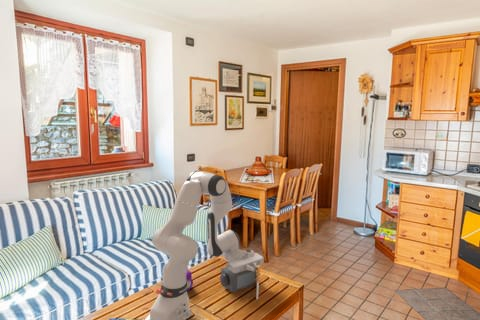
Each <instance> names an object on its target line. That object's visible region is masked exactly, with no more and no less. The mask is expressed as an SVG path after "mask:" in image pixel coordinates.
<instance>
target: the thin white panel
mask: <svg viewBox="0 0 480 320" xmlns="http://www.w3.org/2000/svg"><path fill="white" fill-rule="evenodd" d="M260 268H261V265H258V269H257V270H256V284H255V285H256V297H255V298H256V300H259V291H260V290H259V289H260V273H261V272H260V271H261V270H260Z"/></svg>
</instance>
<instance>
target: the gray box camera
mask: <svg viewBox="0 0 480 320" xmlns="http://www.w3.org/2000/svg"><path fill="white" fill-rule="evenodd" d="M220 271H221V272H220V276H219V278H220V279H219V280H220V281H219V282H220V284H221V285H222V287H224V288H225V289H227V290H228V291H229V292H230V293H235V292H238V291H241V290H244V289H247V288H249V287H252V286H255V285H257V284H256V276H257V270H255V271H253V272H252V271H251V270H244V271H241V272H238V273H233V272H232V271H231V270H230V269H229V268H228V267H227V266H224V267H221V269H220Z"/></svg>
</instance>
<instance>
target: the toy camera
mask: <svg viewBox="0 0 480 320" xmlns="http://www.w3.org/2000/svg"><path fill="white" fill-rule="evenodd" d="M192 274H193V273H192V272H191V271H190V270H189V269H187V273H186V280H187V292H188V291H189V290H190V289H192V288H193V286H194V281H193V276H192Z"/></svg>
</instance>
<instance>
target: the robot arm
mask: <svg viewBox="0 0 480 320" xmlns="http://www.w3.org/2000/svg"><path fill="white" fill-rule="evenodd" d="M202 195H207V196H210V208H209V211H208V213H207V215H206V219H207V220H206V223H207V224H206V229H207V230H206V231H207V233H206V234H207V236H206V237H207V241H206V250H207V253H208V254H209V255H210V256H212V257H216V258H218V257H219V258H220V257H222V258H223V259H225V260H226V261H227V262H225V267H228V268H229V269H230V270H231V271H232V272H233V273H238V272H241V271H244V270H251V271H252V272H253V271H255V270H256V271H257V269H258V265H260V266H261V265H263V264H264V259H265V258H264V256H262V255H261V254H260V253H258V252H254V250H252V249H246V250H245V249H240V243H241V242H240V241H241V240H240V236H239V234H238V233H237V232H235V231H234V230H232V229H227V230H226V231H224V232H222V233H221V234H218V226H219V223H220V222H221V221H222V220H223V219H224V217H226V215H228V214H229V213H230V211H231V210H232V207H233V198H232V194H231V189H230V187H229V184H228V182H227V180H226V179H225V178H224V177H223V176H222V175H220V174H215V173H212V172H210V171H203V170H202V171H201V170H193V171H191V172H190V173H189V174H188V176H187V178H186V181H185V182H184V183H182V186H181V188H180V189H179V191H178V193H177V196H176V199H175V202H174V205H173V208H172V211H171V214H170V215H169V218H168V219H167V221H166V222H165V224H164V225H163V226H161V227H160V228H157V229H156V230H155V231H154V233H153V235H152V238H151V243H152V245H153V246H154V248H155V249H157V251H159V252H162V253H163V254H165V255H168V257H169V262H166V263H165V264H164V265H163V266H162V282H161V286H160V288H159V287H158V288H156V293H157V294H158V295H157V297H156V299H155V301H154V303H153V304H152V306H151V307H150V310H149V314H148V315H147V316H146V317H145V319H144V320H187V319H189V318H190V317H192V315H193V314H192V310H191V307H190V298H189V294H188V291H187V280H186V273H187V268H188V264H189V263H190V261H192V260H193V259H194V258H195V257H196V256H197V254H198V252H199V244H198V242H197V241H196V240H195V239H194V238H192V237H190V235H186V234H184V233H183V232H184V230H185V229H186V228H187V227H188V226H191V225H192V224H194V222H195V221H196V219H195V218H196V215H197V213H198V210H199V206H200V202H201V198H202Z"/></svg>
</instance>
